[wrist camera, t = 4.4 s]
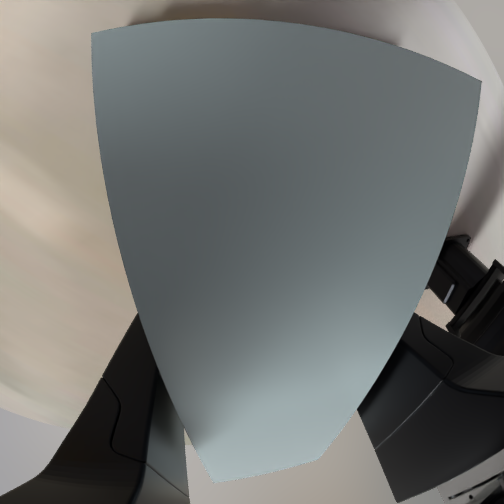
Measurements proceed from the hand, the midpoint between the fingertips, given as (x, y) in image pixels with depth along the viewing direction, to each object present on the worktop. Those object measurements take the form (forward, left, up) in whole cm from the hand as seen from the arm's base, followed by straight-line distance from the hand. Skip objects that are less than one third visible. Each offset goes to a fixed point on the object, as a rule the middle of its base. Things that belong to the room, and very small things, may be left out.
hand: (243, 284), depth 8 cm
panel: (0, 0, -1) cm, 1 cm away
